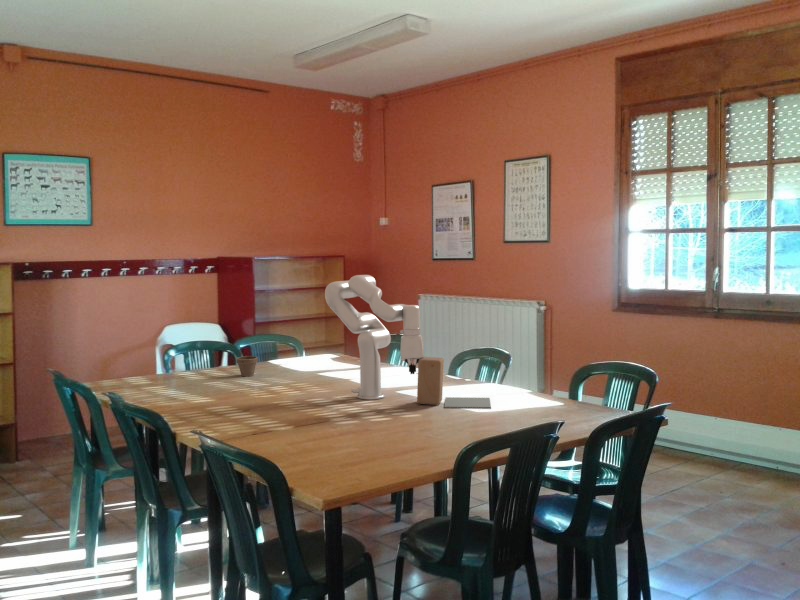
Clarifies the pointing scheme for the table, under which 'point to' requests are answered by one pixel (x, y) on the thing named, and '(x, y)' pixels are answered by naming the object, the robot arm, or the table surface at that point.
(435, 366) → the wooden block
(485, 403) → the mat
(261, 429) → the table surface
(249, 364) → the flower pot
